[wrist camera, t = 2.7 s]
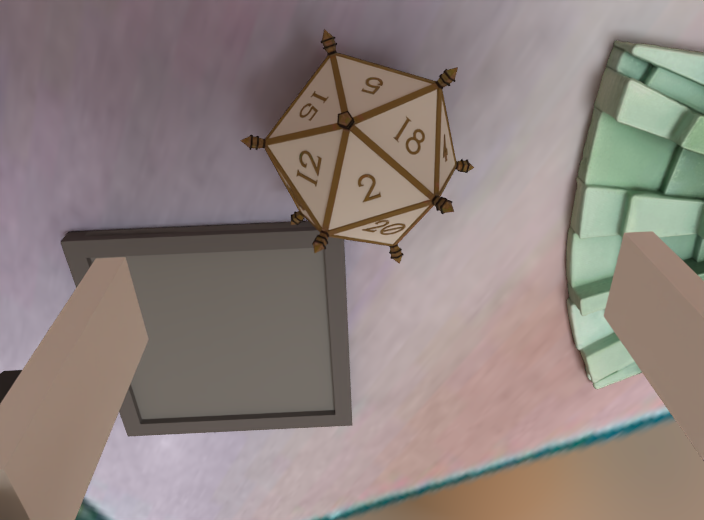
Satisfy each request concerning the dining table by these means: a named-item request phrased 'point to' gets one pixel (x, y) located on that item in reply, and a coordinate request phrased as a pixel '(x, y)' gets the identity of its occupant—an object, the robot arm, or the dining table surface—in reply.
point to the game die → (364, 150)
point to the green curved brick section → (635, 187)
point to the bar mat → (231, 326)
